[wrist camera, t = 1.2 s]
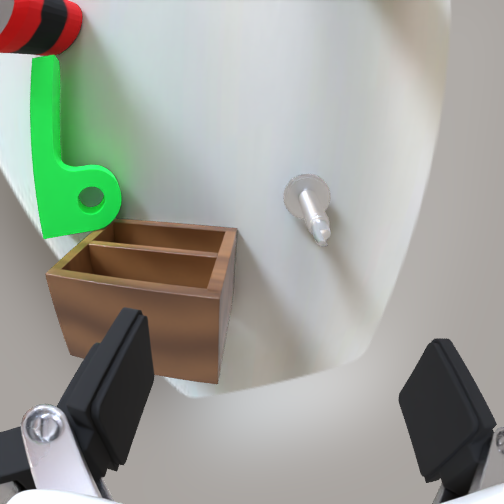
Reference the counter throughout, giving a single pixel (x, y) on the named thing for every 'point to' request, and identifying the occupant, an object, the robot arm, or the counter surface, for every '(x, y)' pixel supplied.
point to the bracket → (63, 164)
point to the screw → (310, 204)
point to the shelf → (151, 291)
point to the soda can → (38, 26)
